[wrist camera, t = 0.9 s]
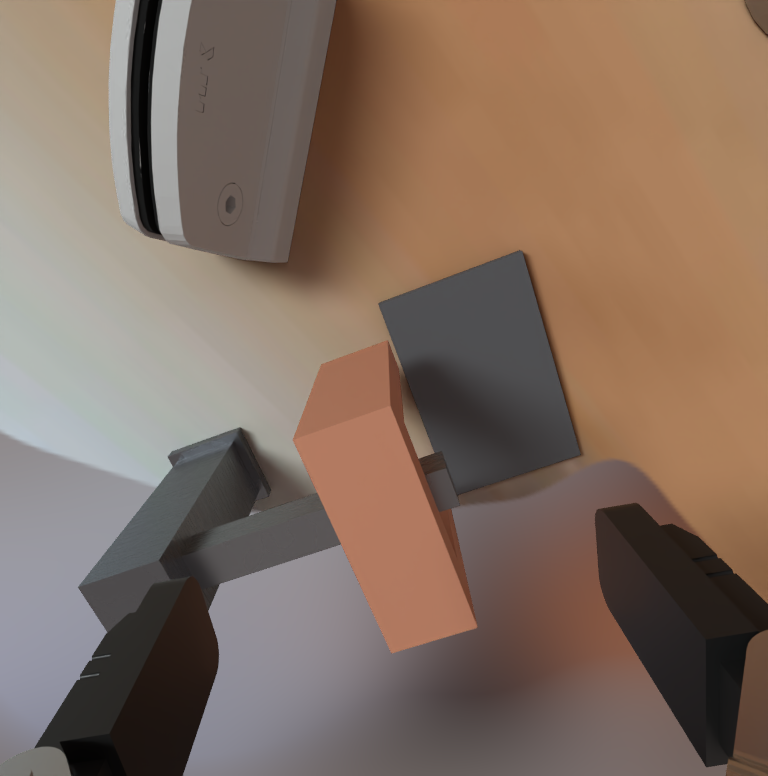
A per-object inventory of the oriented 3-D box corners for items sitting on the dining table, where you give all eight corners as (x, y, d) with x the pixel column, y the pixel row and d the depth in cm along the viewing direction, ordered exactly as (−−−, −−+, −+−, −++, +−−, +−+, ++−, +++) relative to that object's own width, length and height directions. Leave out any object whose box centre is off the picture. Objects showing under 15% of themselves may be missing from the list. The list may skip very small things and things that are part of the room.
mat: (519, 250, 33) (522, 251, 33) (577, 450, 37) (580, 454, 37) (378, 302, 34) (378, 304, 34) (450, 492, 38) (451, 497, 38)
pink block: (387, 340, 31) (390, 405, 21) (449, 503, 34) (477, 627, 24) (321, 364, 31) (292, 439, 21) (388, 523, 35) (391, 653, 25)
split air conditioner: (286, 268, 34) (175, 275, 24) (220, 248, 35) (90, 247, 26) (346, -55, 28) (234, -201, 19) (266, -66, 30) (124, -209, 20)
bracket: (418, 363, 35) (438, 454, 23) (443, 431, 37) (475, 553, 24) (172, 451, 37) (62, 581, 25) (205, 512, 39) (117, 665, 26)
